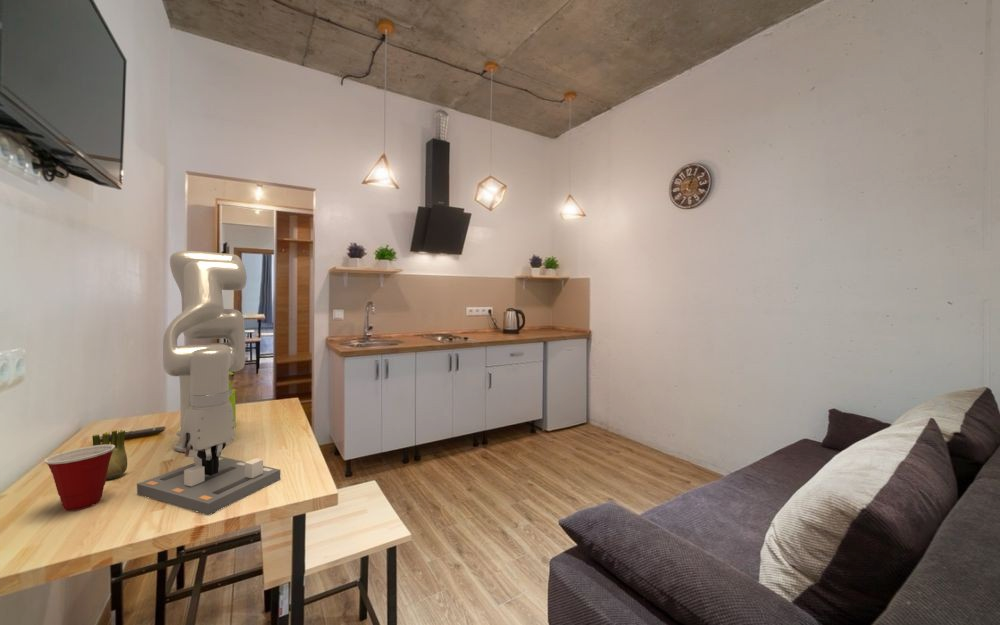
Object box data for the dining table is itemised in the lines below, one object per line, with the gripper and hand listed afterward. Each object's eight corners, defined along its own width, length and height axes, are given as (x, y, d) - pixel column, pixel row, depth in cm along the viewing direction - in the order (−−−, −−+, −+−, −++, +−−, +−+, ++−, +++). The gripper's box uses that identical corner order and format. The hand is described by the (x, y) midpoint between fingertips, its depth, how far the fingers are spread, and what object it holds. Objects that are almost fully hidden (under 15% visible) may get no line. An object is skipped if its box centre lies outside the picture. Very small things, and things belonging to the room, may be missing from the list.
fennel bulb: (89, 482, 97) (88, 434, 97) (105, 473, 102) (104, 428, 101) (117, 480, 98) (116, 433, 98) (131, 472, 103) (130, 427, 103)
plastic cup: (101, 488, 94) (100, 439, 94) (126, 497, 90) (125, 446, 90) (34, 510, 84) (33, 455, 84) (59, 522, 80) (58, 465, 80)
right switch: (244, 476, 96) (244, 462, 96) (255, 471, 99) (256, 458, 99) (251, 478, 96) (251, 464, 95) (263, 473, 98) (263, 459, 98)
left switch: (194, 464, 102) (194, 451, 102) (206, 460, 105) (206, 447, 105) (200, 466, 101) (200, 453, 101) (212, 461, 104) (212, 448, 104)
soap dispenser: (221, 432, 134) (221, 374, 133) (212, 428, 138) (211, 371, 137) (240, 427, 139) (240, 371, 138) (230, 423, 143) (230, 369, 142)
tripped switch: (184, 484, 92) (183, 470, 91) (197, 479, 94) (197, 465, 94) (191, 486, 91) (191, 471, 91) (204, 481, 94) (204, 466, 94)
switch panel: (137, 494, 92) (136, 483, 92) (214, 464, 109) (214, 454, 109) (208, 515, 84) (208, 503, 84) (280, 479, 101) (280, 469, 101)
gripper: (228, 391, 104) (229, 459, 104) (165, 405, 89) (165, 484, 90) (249, 394, 101) (249, 463, 102) (187, 409, 87) (188, 490, 88)
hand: (210, 473), depth 96 cm, fingers closed
